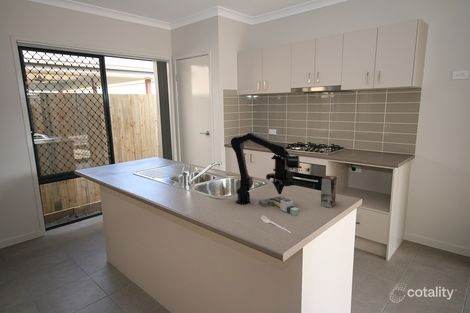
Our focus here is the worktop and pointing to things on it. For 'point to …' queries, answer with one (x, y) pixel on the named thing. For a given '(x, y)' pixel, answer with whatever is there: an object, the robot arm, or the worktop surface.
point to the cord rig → (278, 204)
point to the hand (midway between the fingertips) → (279, 194)
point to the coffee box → (328, 191)
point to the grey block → (285, 204)
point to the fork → (273, 223)
